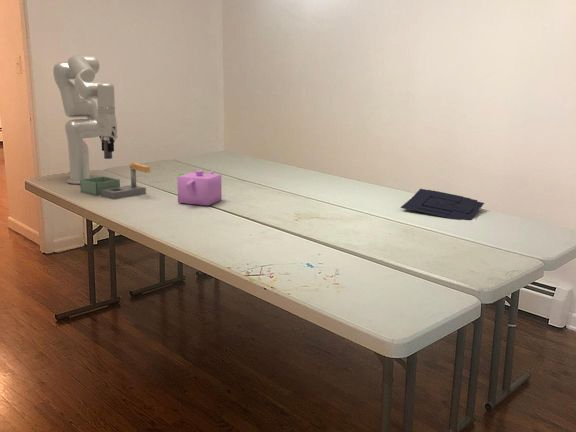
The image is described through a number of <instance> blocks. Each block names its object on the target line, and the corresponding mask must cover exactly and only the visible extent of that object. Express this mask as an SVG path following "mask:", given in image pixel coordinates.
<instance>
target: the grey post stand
mask: <svg viewBox="0 0 576 432" xmlns="http://www.w3.org/2000/svg"><path fill="white" fill-rule="evenodd" d="M130 183H131V184H130V185H123V186H120V187H116V188H110V189H103V190H101V195H100V197H102V198H106V199H110V200H117V199H119V200H120V199H122V198H123V199H124V198H130V197H135V196H141V195H147V192H146V191H147V188H146V187H145V186H140V185H137V170H135V169H130Z"/></svg>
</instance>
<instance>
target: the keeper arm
mask: <svg viewBox="0 0 576 432" xmlns="http://www.w3.org/2000/svg"><path fill="white" fill-rule="evenodd" d="M129 169H130V170H131V169H135V170H136V171H138V172H142V173H151V167H150V166H148V165H144V164H140V163H137V162H129Z"/></svg>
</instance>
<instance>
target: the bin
mask: <svg viewBox="0 0 576 432" xmlns="http://www.w3.org/2000/svg"><path fill="white" fill-rule="evenodd" d="M120 181H121V180H120V179H119V178H118V179H117V178H113V177H109V176H103V175H102V176H96V177H90V178H88V179H81V180H80V184H79V185H80V193H83V194H86V195H91V196H97V197H99V196H101V190H103V189H110V188H116V187H121V182H120Z"/></svg>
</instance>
